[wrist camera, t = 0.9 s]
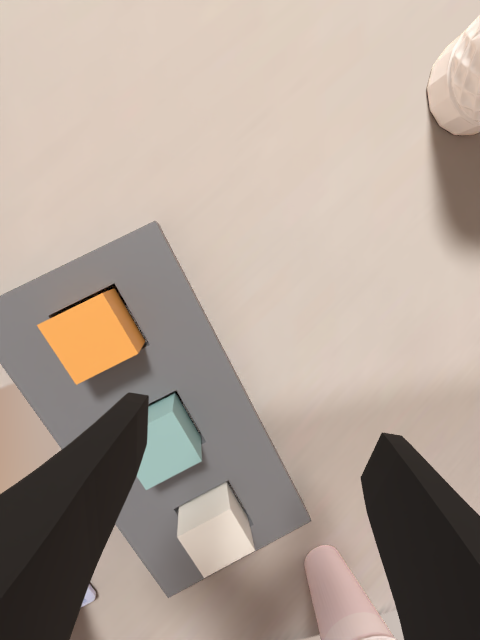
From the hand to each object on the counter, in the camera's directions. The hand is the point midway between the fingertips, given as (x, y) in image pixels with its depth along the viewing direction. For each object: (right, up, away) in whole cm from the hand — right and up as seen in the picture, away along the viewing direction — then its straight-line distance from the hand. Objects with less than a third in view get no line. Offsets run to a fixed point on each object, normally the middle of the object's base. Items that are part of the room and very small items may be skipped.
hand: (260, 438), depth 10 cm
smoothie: (+8, -20, +22) cm, 31 cm away
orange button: (-11, +3, +13) cm, 17 cm away
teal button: (-7, -5, +15) cm, 18 cm away
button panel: (-7, -5, +17) cm, 19 cm away
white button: (-3, -13, +18) cm, 22 cm away
